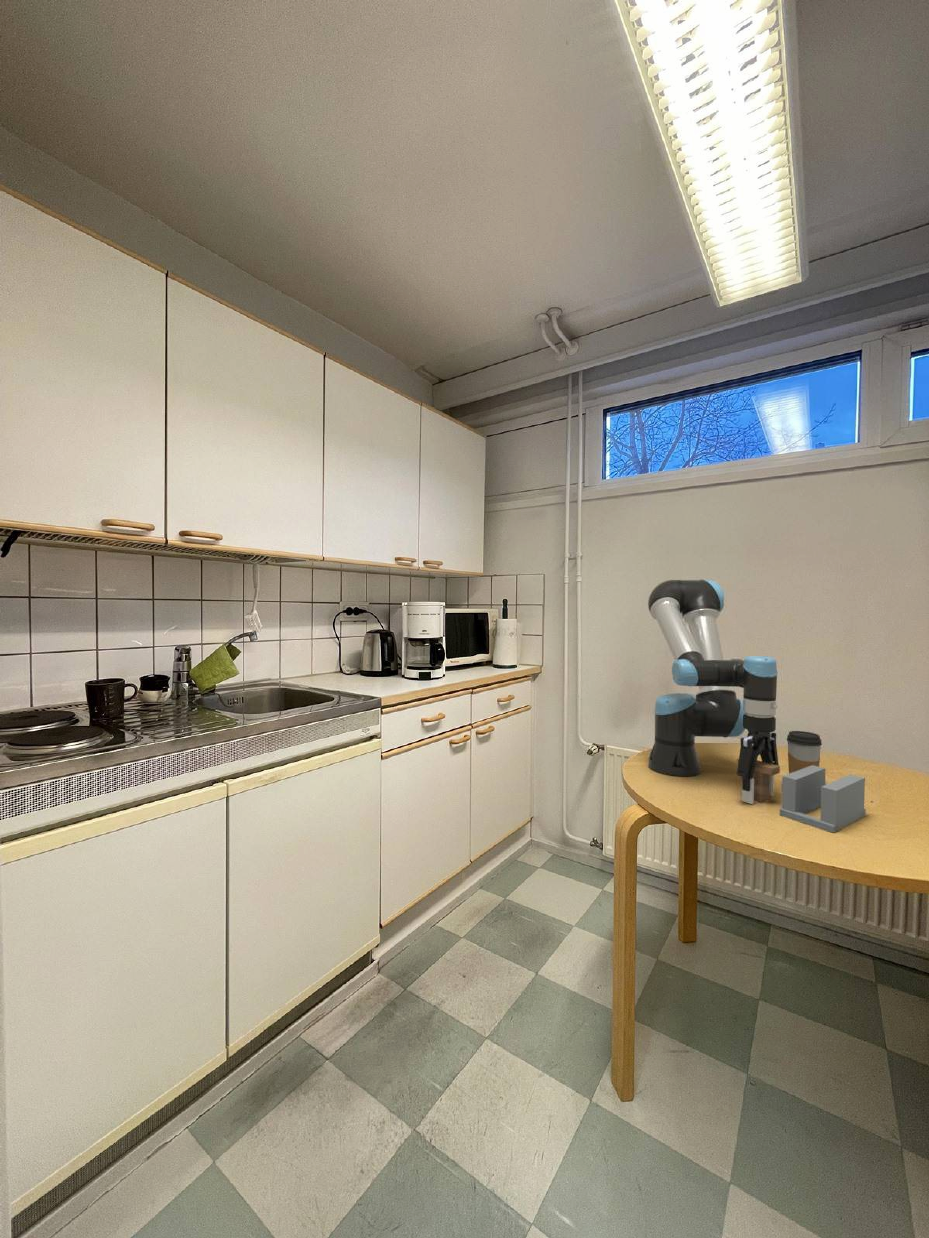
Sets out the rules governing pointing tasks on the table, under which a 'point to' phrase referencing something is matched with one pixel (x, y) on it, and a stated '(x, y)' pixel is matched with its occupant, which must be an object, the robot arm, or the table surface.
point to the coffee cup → (803, 750)
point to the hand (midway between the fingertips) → (757, 798)
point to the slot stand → (822, 798)
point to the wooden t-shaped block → (763, 779)
